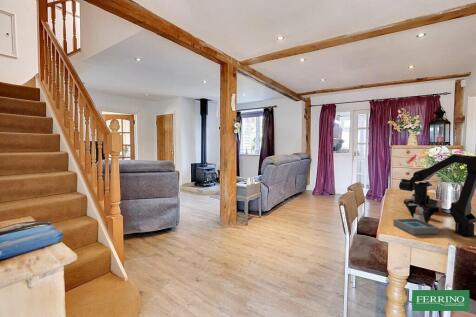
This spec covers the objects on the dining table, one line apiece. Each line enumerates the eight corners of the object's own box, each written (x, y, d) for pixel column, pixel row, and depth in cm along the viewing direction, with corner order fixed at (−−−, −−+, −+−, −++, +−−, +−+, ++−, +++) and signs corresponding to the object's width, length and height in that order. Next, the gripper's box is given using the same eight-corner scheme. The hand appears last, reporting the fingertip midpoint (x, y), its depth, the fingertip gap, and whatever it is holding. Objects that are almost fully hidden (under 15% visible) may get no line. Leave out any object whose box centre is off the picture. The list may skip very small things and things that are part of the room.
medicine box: (439, 210, 157) (439, 198, 157) (441, 214, 151) (442, 201, 150) (410, 207, 165) (411, 196, 165) (411, 210, 159) (412, 199, 158)
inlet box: (438, 234, 119) (438, 227, 118) (412, 235, 118) (413, 228, 118) (416, 224, 133) (416, 218, 132) (393, 225, 132) (393, 219, 132)
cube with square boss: (425, 224, 133) (426, 214, 133) (419, 224, 133) (419, 214, 133) (420, 221, 137) (420, 212, 137) (413, 221, 137) (413, 212, 137)
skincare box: (410, 213, 152) (410, 195, 151) (414, 213, 153) (415, 194, 152) (420, 216, 146) (420, 197, 145) (424, 215, 148) (425, 196, 147)
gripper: (449, 196, 125) (448, 225, 126) (421, 189, 144) (420, 214, 145) (429, 197, 125) (428, 226, 126) (403, 189, 143) (402, 215, 144)
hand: (419, 220), depth 135 cm, fingers open, 9 cm apart
